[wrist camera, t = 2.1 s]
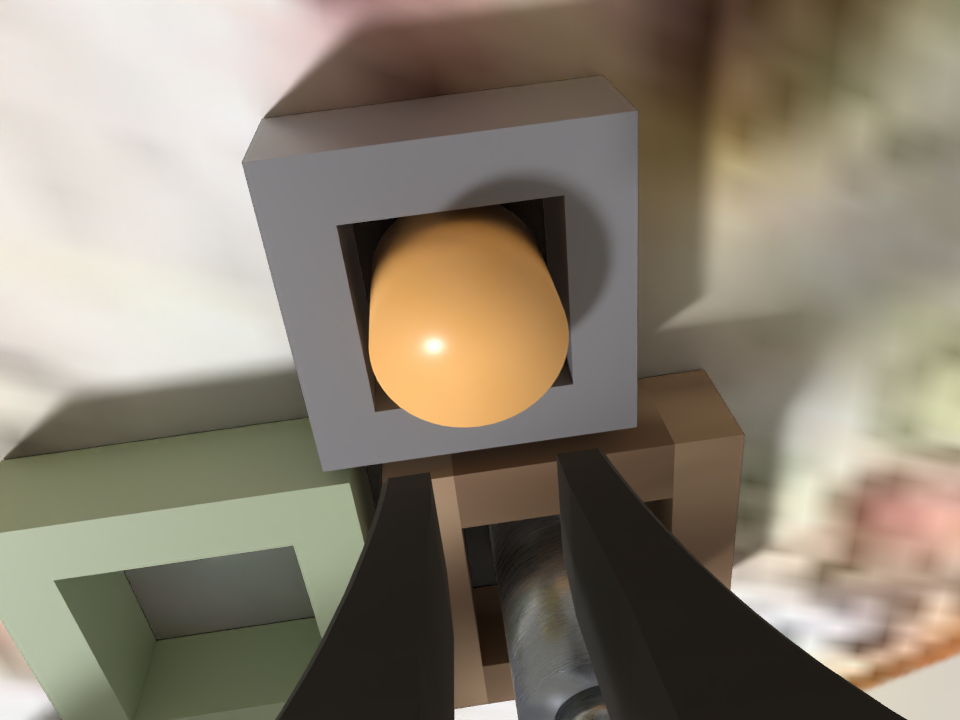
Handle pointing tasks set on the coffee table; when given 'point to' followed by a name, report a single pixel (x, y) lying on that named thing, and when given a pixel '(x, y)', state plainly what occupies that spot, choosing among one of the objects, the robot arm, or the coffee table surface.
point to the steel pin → (542, 624)
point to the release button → (464, 317)
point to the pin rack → (163, 540)
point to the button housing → (443, 187)
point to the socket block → (535, 493)
